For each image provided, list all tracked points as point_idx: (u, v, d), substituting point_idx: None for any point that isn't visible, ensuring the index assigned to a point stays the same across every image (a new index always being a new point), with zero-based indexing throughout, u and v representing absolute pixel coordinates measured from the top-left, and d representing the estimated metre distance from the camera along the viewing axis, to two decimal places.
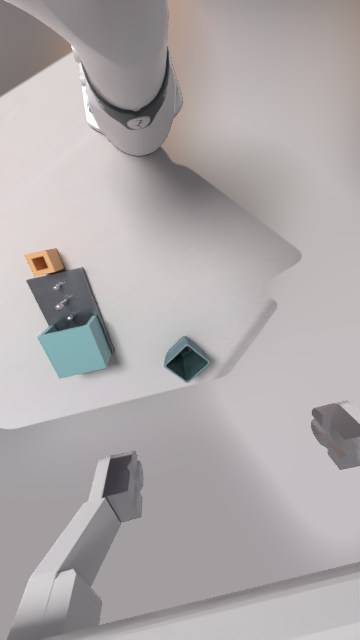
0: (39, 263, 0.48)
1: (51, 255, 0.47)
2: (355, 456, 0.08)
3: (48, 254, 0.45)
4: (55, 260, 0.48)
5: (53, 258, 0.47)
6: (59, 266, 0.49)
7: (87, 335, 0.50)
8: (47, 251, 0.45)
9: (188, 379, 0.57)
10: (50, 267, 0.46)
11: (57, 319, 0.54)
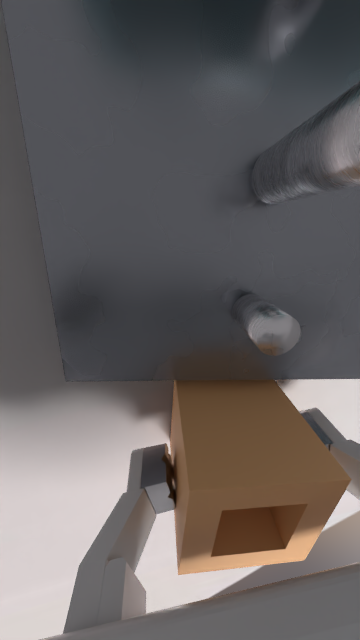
0: None
1: (176, 495, 0.08)
2: None
3: (179, 545, 0.07)
4: (176, 460, 0.08)
5: (177, 484, 0.08)
6: (177, 418, 0.08)
7: None
8: (177, 549, 0.08)
9: None
10: (206, 513, 0.06)
11: None
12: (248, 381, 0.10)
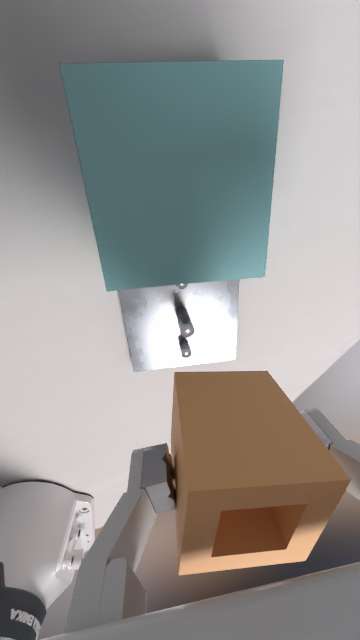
0: None
1: (176, 495, 0.08)
2: None
3: (179, 545, 0.07)
4: (176, 460, 0.08)
5: (177, 485, 0.08)
6: (177, 418, 0.08)
7: (117, 257, 0.15)
8: (178, 549, 0.08)
9: None
10: (205, 514, 0.06)
11: None
12: (248, 381, 0.10)
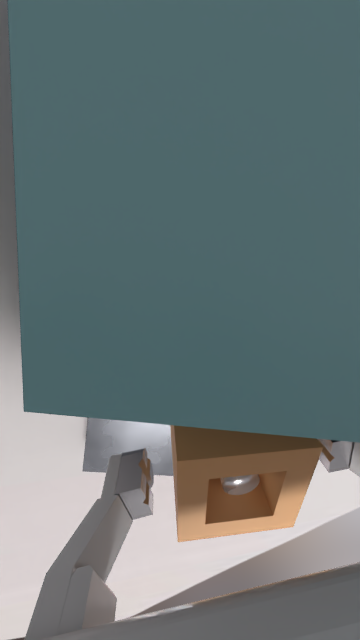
0: None
1: (174, 474, 0.09)
2: (343, 459, 0.08)
3: None
4: None
5: None
6: None
7: (137, 265, 0.02)
8: (176, 520, 0.08)
9: None
10: (195, 482, 0.07)
11: None
12: None
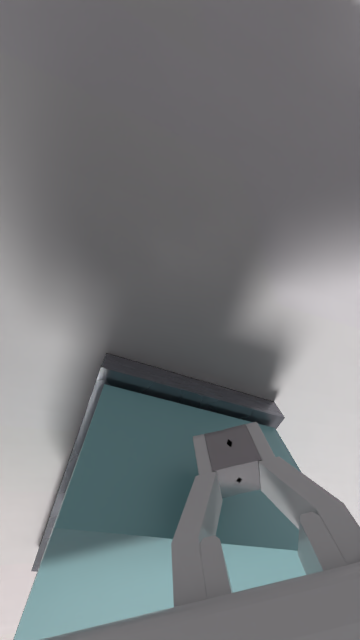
0: None
1: None
2: (252, 480, 0.08)
3: None
4: None
5: None
6: None
7: None
8: None
9: None
10: None
11: None
12: None
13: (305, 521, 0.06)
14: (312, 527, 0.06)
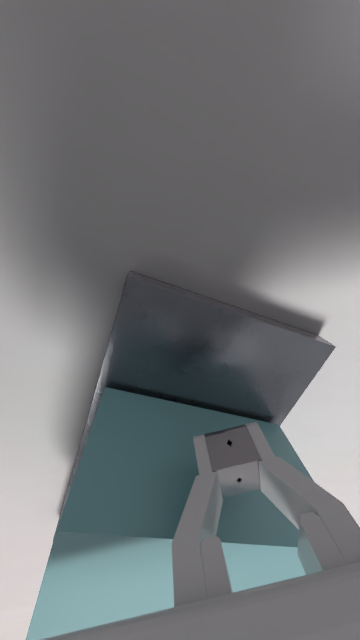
0: None
1: None
2: (252, 480, 0.08)
3: None
4: None
5: None
6: None
7: None
8: None
9: None
10: None
11: None
12: None
13: (305, 521, 0.06)
14: (312, 527, 0.06)
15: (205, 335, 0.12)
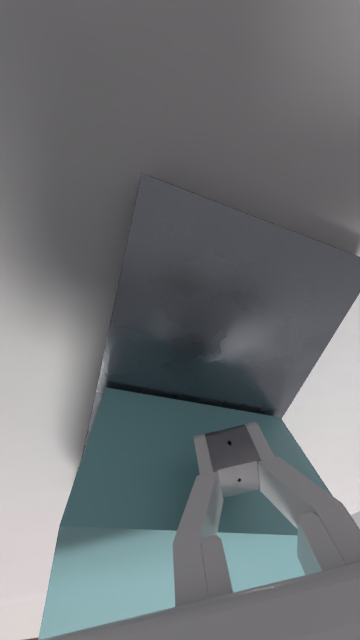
0: None
1: None
2: (251, 481, 0.08)
3: None
4: None
5: None
6: None
7: None
8: None
9: None
10: None
11: None
12: None
13: (304, 521, 0.06)
14: (311, 527, 0.06)
15: (231, 251, 0.11)
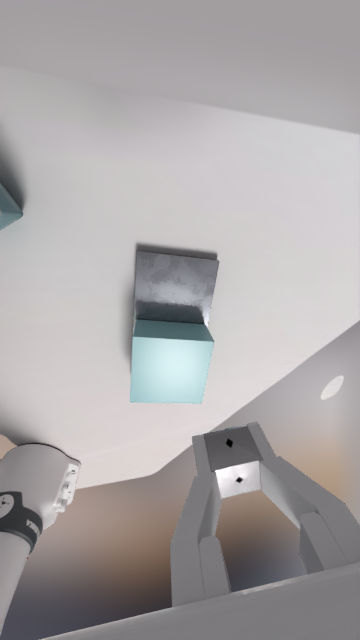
0: None
1: None
2: (253, 480, 0.08)
3: None
4: None
5: None
6: None
7: (138, 391, 0.34)
8: None
9: None
10: None
11: None
12: None
13: (306, 521, 0.06)
14: (313, 527, 0.06)
15: (167, 266, 0.34)
